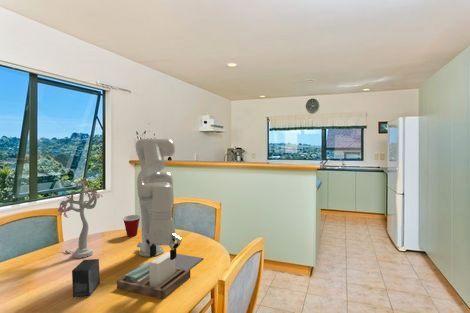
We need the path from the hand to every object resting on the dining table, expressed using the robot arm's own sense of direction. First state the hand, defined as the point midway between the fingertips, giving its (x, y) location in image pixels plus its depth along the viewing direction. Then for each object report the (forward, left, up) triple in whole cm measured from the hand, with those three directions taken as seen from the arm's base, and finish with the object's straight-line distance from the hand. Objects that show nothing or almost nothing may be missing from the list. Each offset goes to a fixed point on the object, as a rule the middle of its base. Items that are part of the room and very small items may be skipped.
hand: (163, 257), depth 116 cm
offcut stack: (-10, 0, -11) cm, 15 cm away
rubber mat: (-5, +21, -11) cm, 25 cm away
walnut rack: (-4, 0, -11) cm, 12 cm away
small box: (-25, -15, -12) cm, 31 cm away
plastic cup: (-57, +46, -11) cm, 75 cm away
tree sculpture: (-60, +11, -11) cm, 63 cm away
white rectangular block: (0, 0, -11) cm, 11 cm away
